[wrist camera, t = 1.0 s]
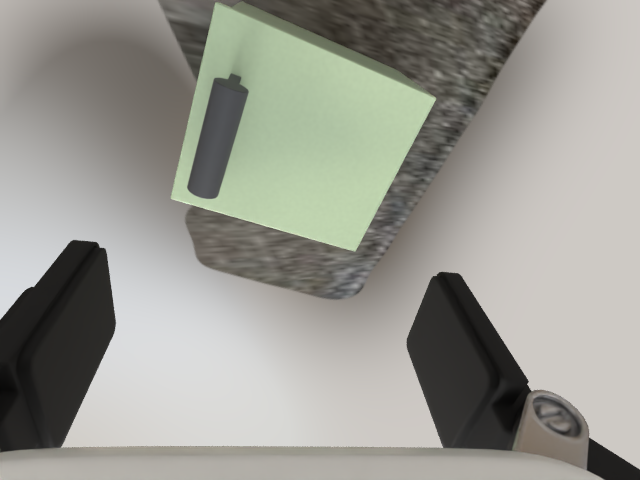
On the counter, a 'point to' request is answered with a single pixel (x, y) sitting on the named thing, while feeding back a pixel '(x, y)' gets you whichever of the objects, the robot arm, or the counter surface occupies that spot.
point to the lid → (293, 132)
